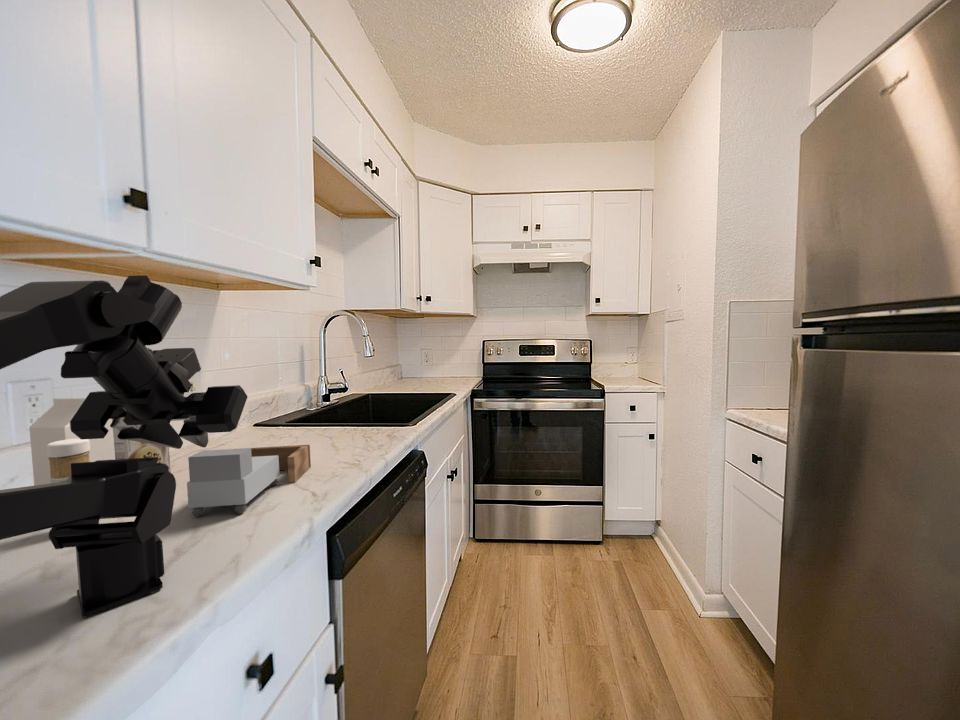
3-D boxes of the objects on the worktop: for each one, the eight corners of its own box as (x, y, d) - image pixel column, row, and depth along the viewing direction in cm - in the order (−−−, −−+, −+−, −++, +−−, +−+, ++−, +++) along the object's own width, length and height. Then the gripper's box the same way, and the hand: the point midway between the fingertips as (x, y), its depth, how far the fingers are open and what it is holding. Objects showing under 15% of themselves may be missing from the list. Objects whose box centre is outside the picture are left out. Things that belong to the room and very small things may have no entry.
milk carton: (71, 522, 65) (61, 401, 64) (36, 520, 66) (26, 401, 65) (119, 504, 72) (110, 395, 71) (86, 503, 73) (78, 395, 72)
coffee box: (145, 477, 87) (139, 400, 87) (172, 477, 86) (167, 400, 86) (100, 492, 78) (93, 407, 78) (129, 493, 77) (123, 407, 77)
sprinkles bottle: (87, 521, 65) (80, 436, 65) (102, 525, 63) (95, 438, 63) (47, 533, 61) (39, 443, 60) (62, 538, 59) (55, 445, 59)
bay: (295, 482, 80) (293, 456, 80) (219, 487, 79) (217, 461, 79) (310, 467, 90) (309, 444, 90) (243, 471, 89) (242, 448, 88)
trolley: (245, 514, 65) (241, 454, 65) (188, 518, 65) (184, 458, 64) (280, 483, 80) (277, 434, 80) (234, 486, 79) (231, 436, 79)
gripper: (236, 324, 54) (274, 397, 66) (82, 329, 53) (148, 403, 64) (206, 391, 47) (255, 460, 58) (25, 399, 45) (112, 468, 57)
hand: (193, 445), depth 60 cm, fingers open, 3 cm apart
